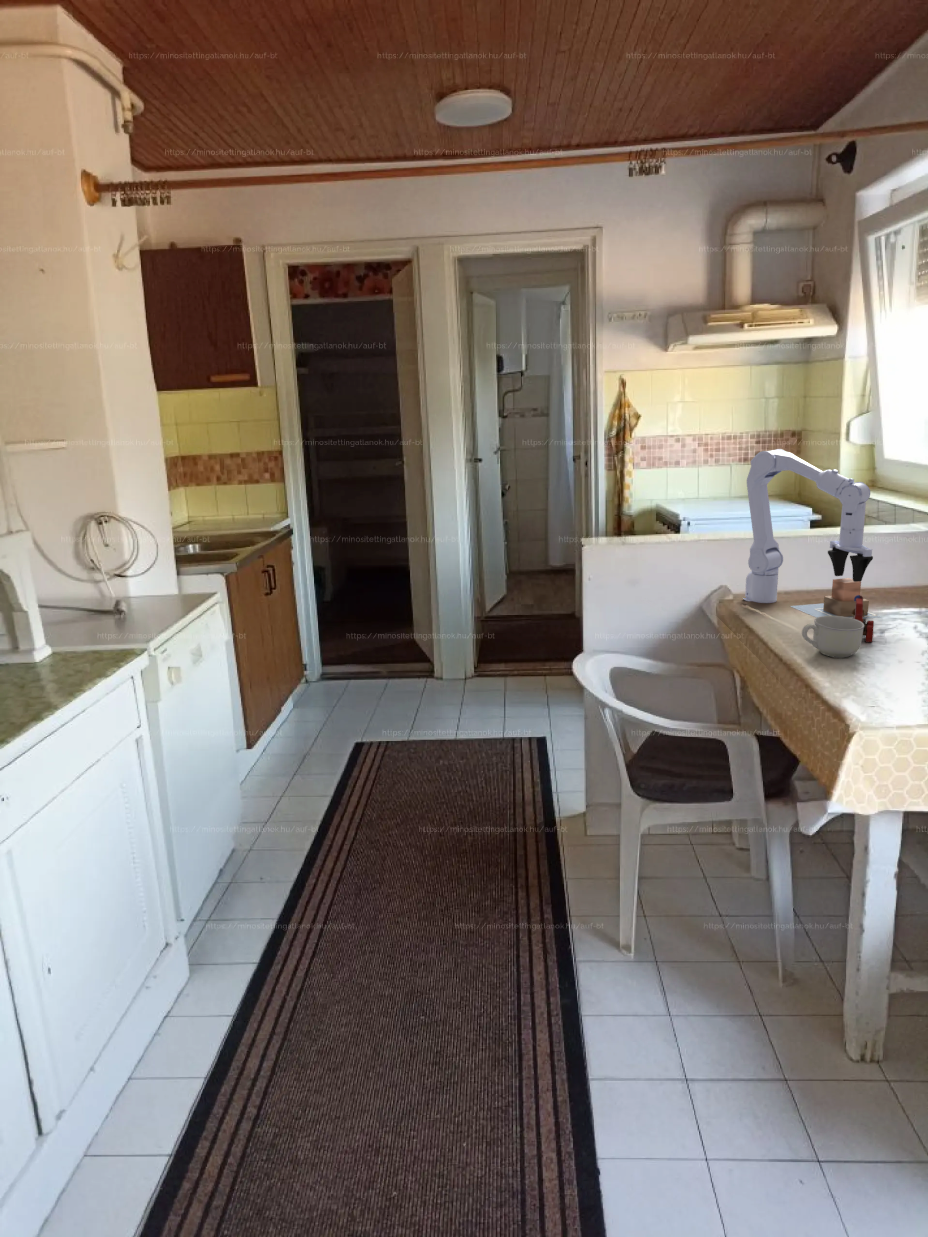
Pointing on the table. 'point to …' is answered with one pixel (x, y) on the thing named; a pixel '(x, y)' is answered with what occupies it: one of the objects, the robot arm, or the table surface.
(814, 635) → the teacup
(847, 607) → the walnut slab
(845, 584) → the terracotta cube
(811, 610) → the board
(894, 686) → the table surface
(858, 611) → the toy fire truck
